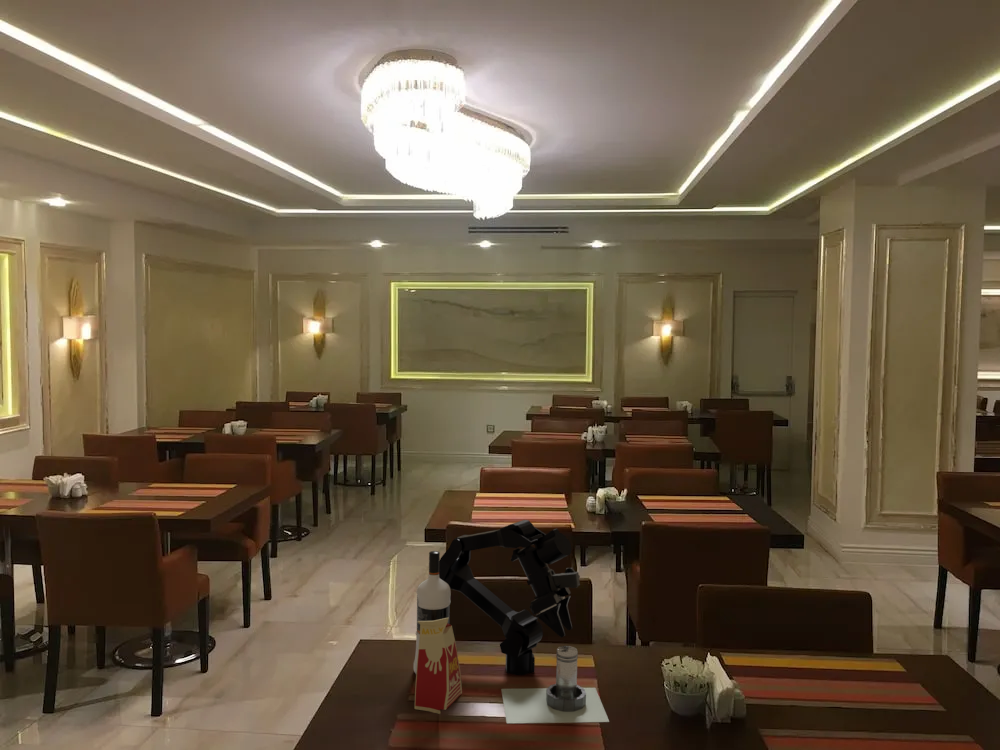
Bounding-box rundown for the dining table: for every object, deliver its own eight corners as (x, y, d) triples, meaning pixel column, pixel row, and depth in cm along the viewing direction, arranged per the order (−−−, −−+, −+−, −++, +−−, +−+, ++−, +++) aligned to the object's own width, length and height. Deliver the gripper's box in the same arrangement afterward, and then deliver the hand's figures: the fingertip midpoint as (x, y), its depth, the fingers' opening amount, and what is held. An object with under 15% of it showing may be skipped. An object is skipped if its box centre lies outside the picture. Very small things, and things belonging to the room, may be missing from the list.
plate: (506, 728, 170) (506, 723, 170) (501, 693, 186) (501, 688, 186) (609, 727, 172) (609, 721, 172) (595, 692, 188) (595, 687, 188)
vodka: (448, 681, 192) (450, 558, 190) (410, 679, 193) (411, 556, 191) (453, 665, 201) (455, 547, 199) (417, 663, 202) (418, 545, 200)
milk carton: (462, 697, 184) (463, 612, 183) (446, 716, 175) (448, 626, 174) (425, 690, 187) (427, 606, 186) (408, 708, 178) (409, 620, 177)
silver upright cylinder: (562, 708, 177) (564, 655, 176) (551, 699, 181) (552, 648, 180) (580, 704, 179) (581, 651, 179) (568, 695, 183) (570, 644, 183)
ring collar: (549, 711, 176) (549, 700, 175) (544, 693, 184) (544, 683, 184) (588, 711, 176) (588, 700, 176) (581, 693, 185) (581, 682, 185)
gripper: (559, 560, 182) (591, 625, 178) (573, 553, 200) (602, 612, 196) (516, 581, 184) (547, 646, 180) (534, 572, 202) (562, 631, 198)
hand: (566, 632), depth 188 cm, fingers open, 9 cm apart
